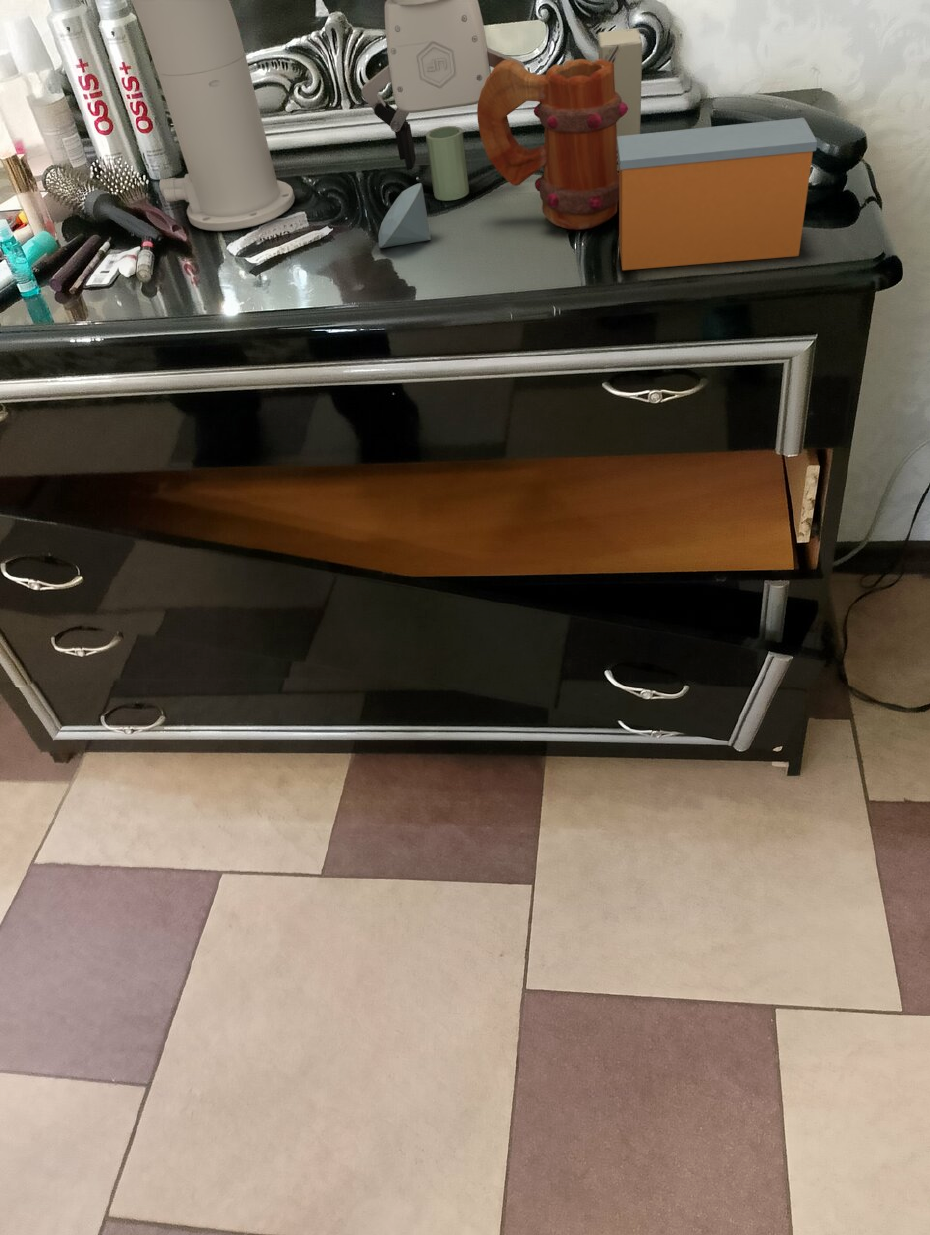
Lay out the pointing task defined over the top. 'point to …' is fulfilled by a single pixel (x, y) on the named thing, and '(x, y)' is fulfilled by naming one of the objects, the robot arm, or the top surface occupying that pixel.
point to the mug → (559, 136)
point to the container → (713, 193)
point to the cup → (447, 163)
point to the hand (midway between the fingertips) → (454, 159)
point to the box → (625, 74)
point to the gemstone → (405, 219)
